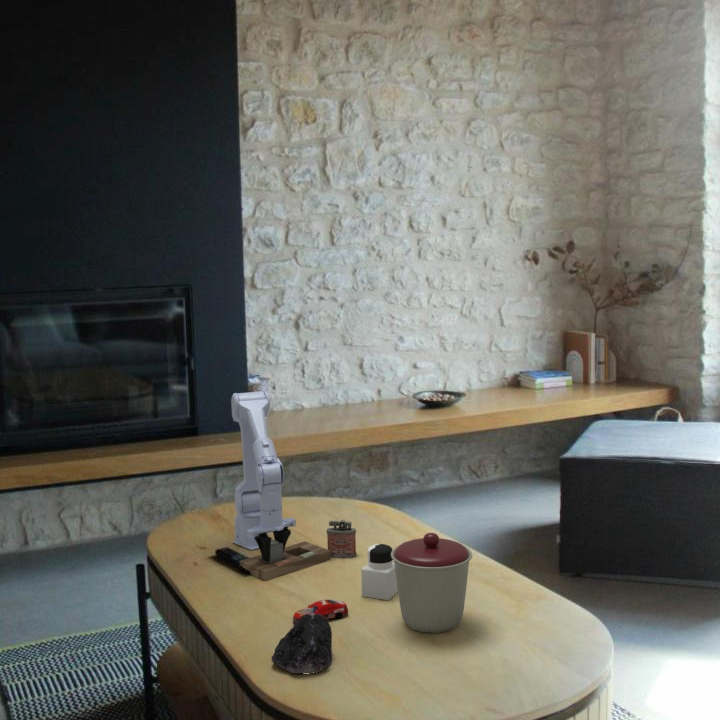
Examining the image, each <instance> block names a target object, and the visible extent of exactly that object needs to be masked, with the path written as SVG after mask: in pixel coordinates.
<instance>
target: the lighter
mask: <svg viewBox="0 0 720 720" xmlns="http://www.w3.org/2000/svg"><path fill="white" fill-rule="evenodd" d="M328 527H329V528H326V534H327V535H326V536H327V538H326V539H327V540H326V541H327V550H330V551H331V559H332V558H333V559H334V558H335V559H352V558H353V559H354V558H356V557H358V556H357V555H358V553H357V550H356V548H357V543H356V541H357V539H356V533H357V529H356V528H354V527H352V521H347V520H345V519H340V520H329V521H328Z"/></svg>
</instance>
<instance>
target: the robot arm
mask: <svg viewBox="0 0 720 720" xmlns="http://www.w3.org/2000/svg"><path fill="white" fill-rule="evenodd" d="M230 403H231V417H232V420H233V422H236V423H238V426H239V428H240V437H241V438H240V439H241V453H242V454H241V455H242V457H241V458H242V467H243V468H242V469H243V470H242V471H243V480H242V481H241V482H239V484H237V485H236V486H235V489H234V508H235V511H236V515H235V517H234V539H235V540H233V541H232V543H233V544H235V545H238V546H240V547H243V548H245V549H248V550H250V551H254V550H257V549H259V551H260V555H262V558H263V560H265V561H269V558H270V544H271V540H276V541H279V542H281V543H283V554H284V549H285V547H286V545H287V542H288V540H289V538H290V536H291V535H292V531H291V529H289V528H290V527H293V528H294V527H296V526H297V523H296V521H297V520H296V518H294V517H289V518H283V504H282V503H283V499H282V498H283V496H282V494H283V493H282V484H283V483H284V479H285V473H284V467H283V463H282V462H281V461H280V458H278V456H277V455H278V454H277V450H276V448H275V444H274V441H273V440H272V439H270V438H268V437H269V435H268V429H267V421H266V417H268V415H269V411H270V407H271V400H270V396H269V393H268V392H267V391H266V390H262V391H252V392H251V391H250V392H249V391H248V392H240V393H239V392H234V393H233V394H232V395H231V400H230ZM269 533H272V534H273V538H274V539H273V538H272V537H271V536H269Z"/></svg>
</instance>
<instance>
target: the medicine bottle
mask: <svg viewBox="0 0 720 720" xmlns="http://www.w3.org/2000/svg"><path fill="white" fill-rule="evenodd" d="M392 550H393V548H392V546H390V545H389V544H386V543H376V544H373V545H370V546H369V547H368V548H367V564H366V565H365V566H363V567H362V568H361V570H360V571H361V575H360V576H361V596H362V597H365V598H370V599H375V598H376V600H381V599H383V600H384V601H390V600H391V599H392V598H393V597H394V596H395V595H396V594H397V593H398V588H397V580H396V572H395V564H394V560H393V559H392V558H391V552H392ZM392 596H393V597H392Z"/></svg>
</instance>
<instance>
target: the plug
mask: <svg viewBox="0 0 720 720" xmlns="http://www.w3.org/2000/svg"><path fill="white" fill-rule="evenodd" d="M280 561H283V543H281V542H279V541H276V540H275V539H271V544H270V558H269V561H265V560H263V558H262V562H265V563H267V564H270V565H272V564H274V563H276V562H280Z"/></svg>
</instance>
